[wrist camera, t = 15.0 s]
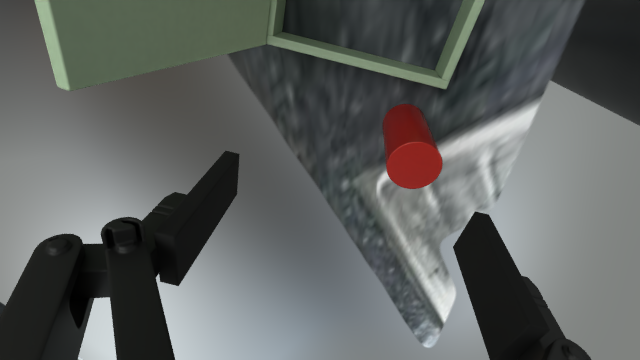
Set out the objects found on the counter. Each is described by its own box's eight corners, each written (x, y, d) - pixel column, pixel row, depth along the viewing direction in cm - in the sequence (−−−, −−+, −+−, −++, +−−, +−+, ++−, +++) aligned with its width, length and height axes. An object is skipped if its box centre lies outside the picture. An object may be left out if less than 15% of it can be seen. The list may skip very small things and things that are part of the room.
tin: (430, 107, 38) (452, 149, 28) (414, 143, 41) (429, 194, 31) (390, 97, 38) (397, 135, 28) (377, 134, 41) (379, 181, 31)
